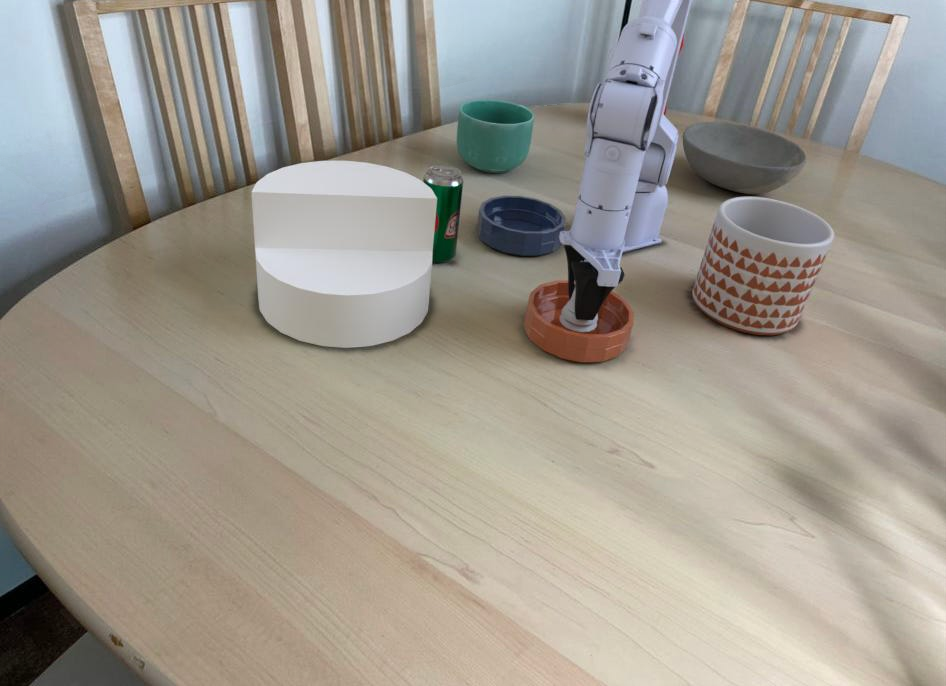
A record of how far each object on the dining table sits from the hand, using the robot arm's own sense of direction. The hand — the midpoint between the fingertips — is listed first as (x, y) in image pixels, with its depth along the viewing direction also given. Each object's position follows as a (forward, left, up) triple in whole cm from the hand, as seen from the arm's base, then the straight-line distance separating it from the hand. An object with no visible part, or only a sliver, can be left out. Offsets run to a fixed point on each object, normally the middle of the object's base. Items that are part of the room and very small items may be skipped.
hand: (580, 308), depth 86 cm
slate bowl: (-9, -23, -4) cm, 25 cm away
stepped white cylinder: (+21, -18, -4) cm, 28 cm away
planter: (-25, +5, -4) cm, 26 cm away
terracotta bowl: (0, 0, -4) cm, 4 cm away
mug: (-23, -48, -4) cm, 53 cm away
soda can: (+5, -23, -4) cm, 24 cm away
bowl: (-59, -25, -4) cm, 64 cm away
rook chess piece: (0, 0, -2) cm, 2 cm away
